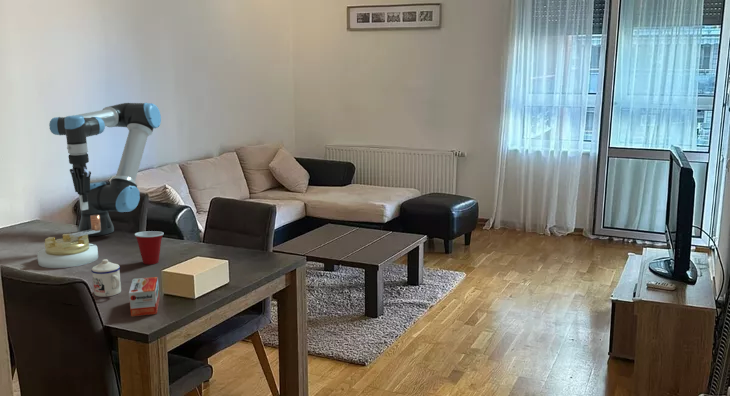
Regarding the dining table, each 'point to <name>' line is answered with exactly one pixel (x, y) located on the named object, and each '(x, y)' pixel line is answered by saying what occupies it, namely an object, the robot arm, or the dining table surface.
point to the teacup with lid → (106, 279)
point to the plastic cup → (149, 245)
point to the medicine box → (144, 296)
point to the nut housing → (67, 258)
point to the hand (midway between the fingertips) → (84, 209)
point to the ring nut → (72, 240)
